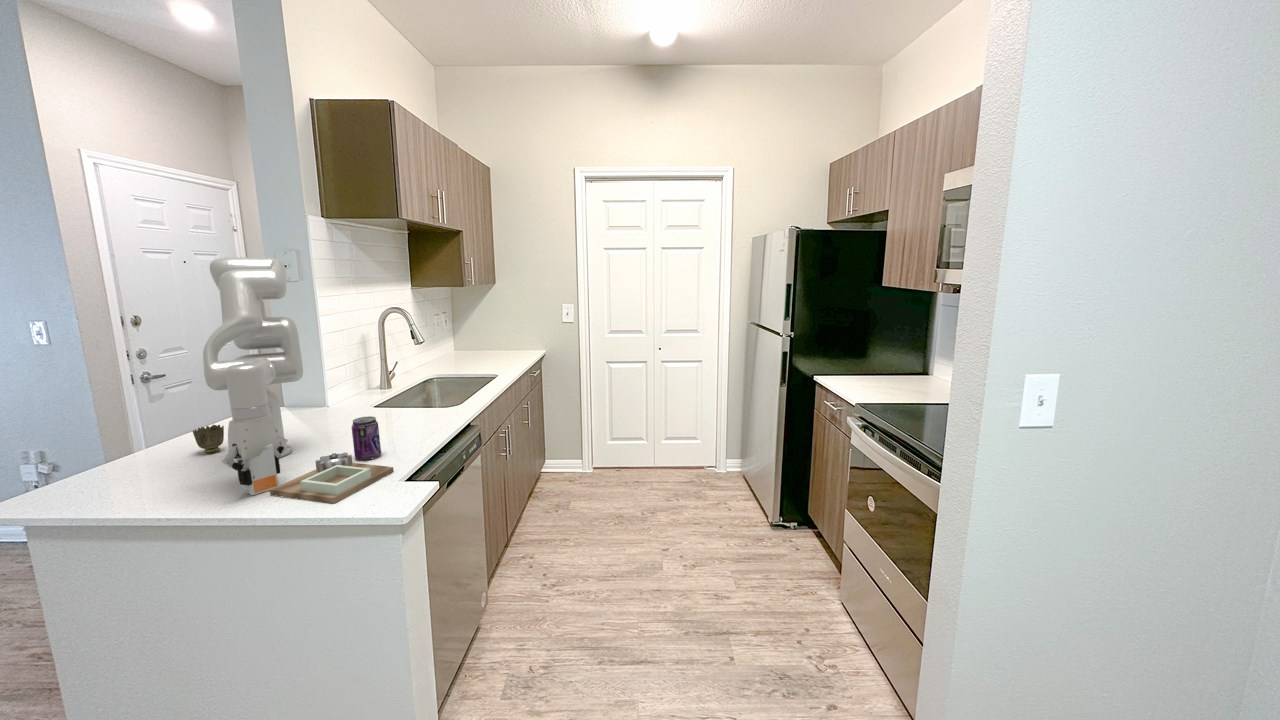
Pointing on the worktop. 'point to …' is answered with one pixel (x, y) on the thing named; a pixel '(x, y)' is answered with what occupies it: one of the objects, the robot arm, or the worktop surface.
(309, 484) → the green square frame
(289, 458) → the worktop surface
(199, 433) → the cup
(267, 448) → the skincare box
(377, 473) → the carrier plate
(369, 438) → the beverage can
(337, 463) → the sun gear
